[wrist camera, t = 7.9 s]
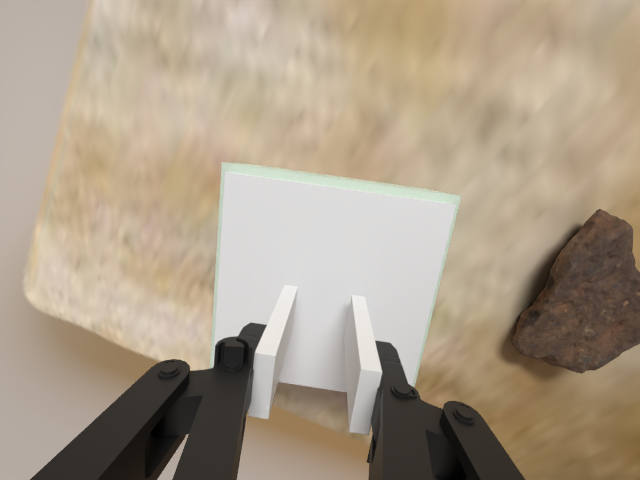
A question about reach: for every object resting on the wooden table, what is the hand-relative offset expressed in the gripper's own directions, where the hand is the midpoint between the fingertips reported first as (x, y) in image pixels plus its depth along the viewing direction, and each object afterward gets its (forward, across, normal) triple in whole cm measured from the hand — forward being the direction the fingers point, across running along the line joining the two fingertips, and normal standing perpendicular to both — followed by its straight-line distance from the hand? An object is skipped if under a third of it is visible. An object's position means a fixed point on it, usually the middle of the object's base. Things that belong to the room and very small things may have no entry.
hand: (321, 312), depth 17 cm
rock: (+9, +16, +4) cm, 19 cm away
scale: (+9, 0, 0) cm, 9 cm away
